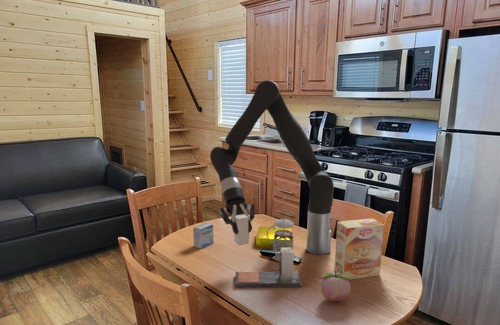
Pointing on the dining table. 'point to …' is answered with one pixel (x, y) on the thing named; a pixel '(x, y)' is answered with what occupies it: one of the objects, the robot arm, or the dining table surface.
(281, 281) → the grey stand
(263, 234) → the element tile
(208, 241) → the medicine box
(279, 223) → the french press
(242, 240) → the block
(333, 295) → the decorative fruit
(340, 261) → the coffeecake box
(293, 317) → the dining table surface
